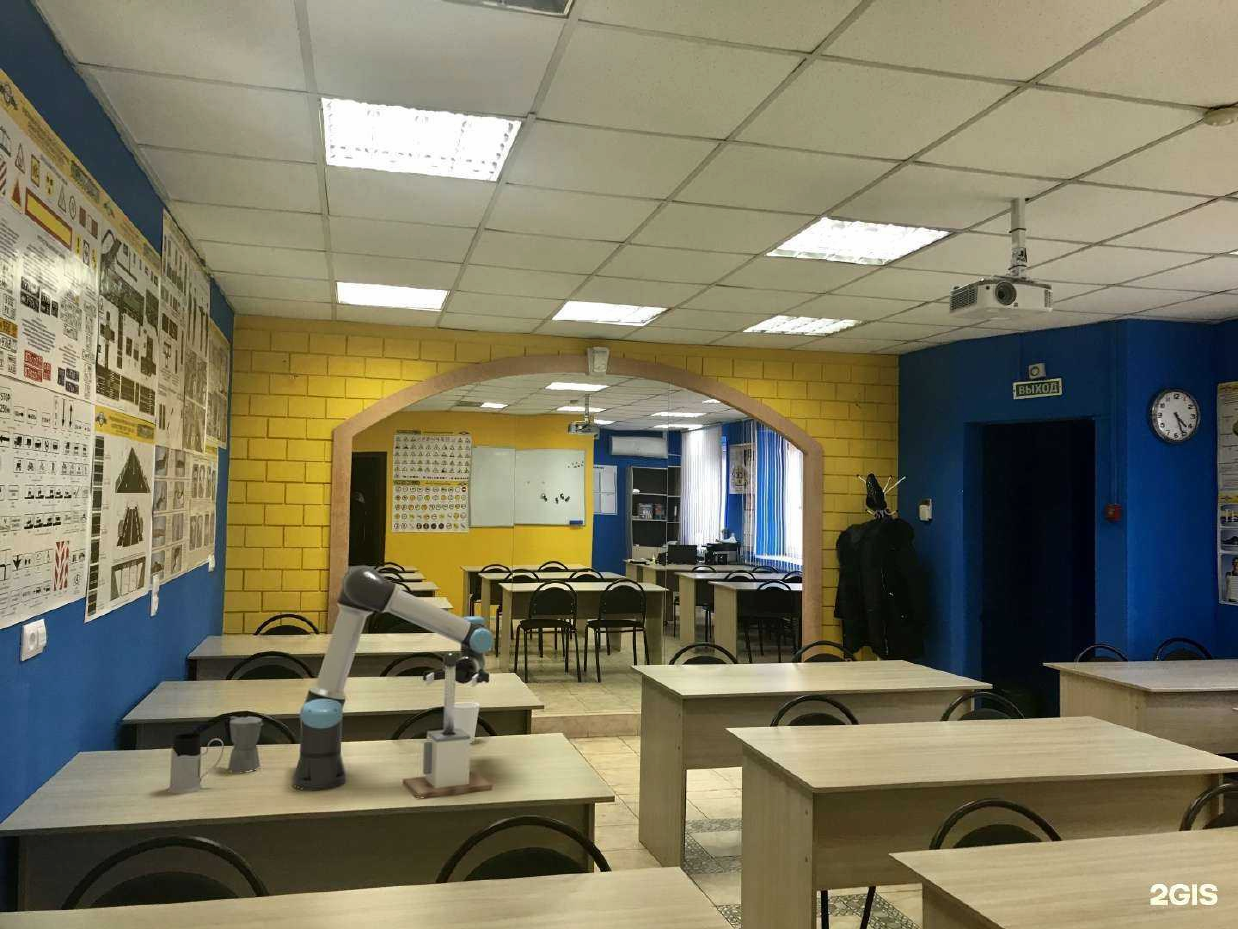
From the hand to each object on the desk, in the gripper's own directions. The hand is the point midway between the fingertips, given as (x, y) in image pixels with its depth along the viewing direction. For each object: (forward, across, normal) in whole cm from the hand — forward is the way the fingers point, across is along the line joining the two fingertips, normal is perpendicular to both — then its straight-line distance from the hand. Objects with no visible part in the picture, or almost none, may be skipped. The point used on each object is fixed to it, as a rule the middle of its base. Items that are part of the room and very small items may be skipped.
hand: (450, 681), depth 272 cm
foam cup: (-55, +6, -31) cm, 63 cm away
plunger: (-2, 0, -18) cm, 18 cm away
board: (-2, 0, -31) cm, 31 cm away
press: (-1, +1, -30) cm, 30 cm away
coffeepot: (-13, +68, -31) cm, 76 cm away
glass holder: (+8, +71, -31) cm, 78 cm away
